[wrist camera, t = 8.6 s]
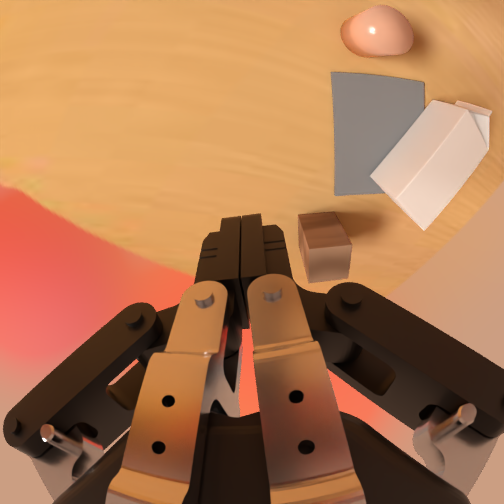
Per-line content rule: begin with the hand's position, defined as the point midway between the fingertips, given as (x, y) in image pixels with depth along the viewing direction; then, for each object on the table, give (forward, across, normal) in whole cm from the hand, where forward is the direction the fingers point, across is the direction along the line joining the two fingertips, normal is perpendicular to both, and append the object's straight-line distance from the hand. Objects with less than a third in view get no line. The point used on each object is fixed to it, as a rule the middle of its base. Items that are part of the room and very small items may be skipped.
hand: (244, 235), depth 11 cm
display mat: (+23, -17, +2) cm, 28 cm away
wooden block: (+23, -8, +15) cm, 28 cm away
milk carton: (+18, -17, +10) cm, 27 cm away
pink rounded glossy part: (+23, -15, -11) cm, 30 cm away
